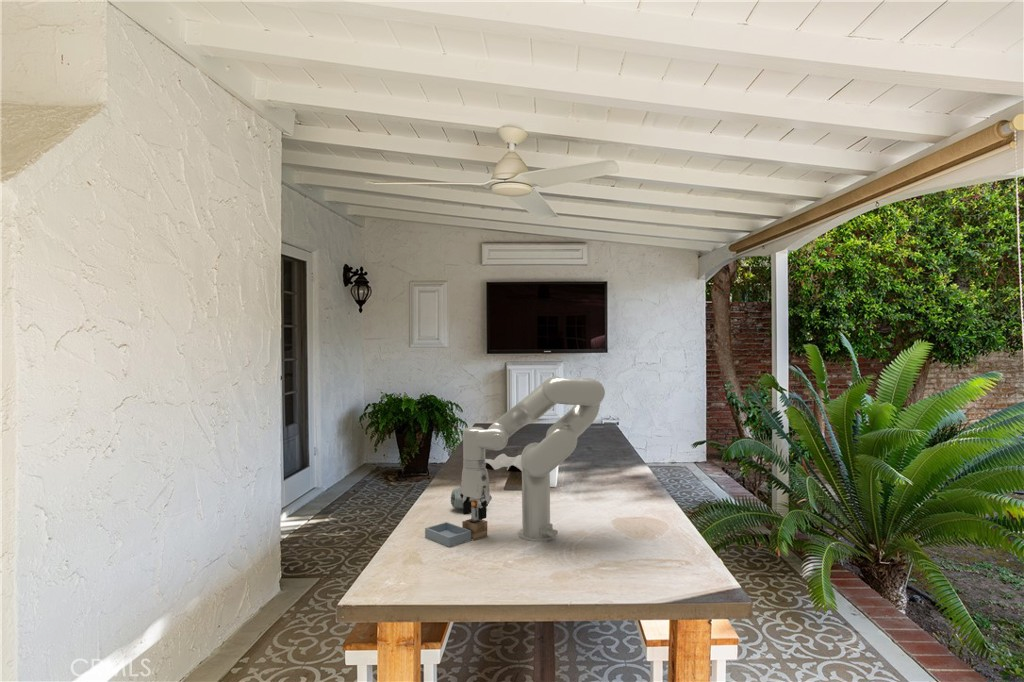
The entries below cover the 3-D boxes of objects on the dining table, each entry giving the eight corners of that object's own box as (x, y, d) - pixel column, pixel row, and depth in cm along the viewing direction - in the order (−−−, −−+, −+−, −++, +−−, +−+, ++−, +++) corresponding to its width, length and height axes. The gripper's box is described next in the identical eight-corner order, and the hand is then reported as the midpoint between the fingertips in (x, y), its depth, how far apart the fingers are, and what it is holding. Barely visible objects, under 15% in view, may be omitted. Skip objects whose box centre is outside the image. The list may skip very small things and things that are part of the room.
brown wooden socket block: (487, 535, 191) (487, 521, 191) (473, 540, 187) (473, 525, 187) (475, 531, 195) (475, 517, 195) (462, 536, 191) (462, 521, 191)
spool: (444, 507, 216) (453, 483, 215) (450, 500, 225) (459, 477, 225) (477, 521, 214) (486, 497, 214) (481, 514, 224) (490, 491, 223)
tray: (471, 540, 187) (471, 530, 187) (449, 547, 181) (449, 537, 181) (446, 530, 197) (446, 521, 197) (425, 537, 190) (425, 528, 190)
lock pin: (479, 530, 191) (479, 500, 191) (474, 531, 189) (474, 502, 189) (475, 528, 193) (475, 499, 193) (469, 530, 191) (469, 500, 191)
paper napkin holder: (476, 474, 281) (476, 455, 281) (491, 466, 299) (491, 448, 299) (524, 478, 272) (524, 458, 272) (536, 470, 290) (536, 451, 290)
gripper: (499, 466, 187) (500, 519, 187) (466, 458, 200) (466, 508, 200) (483, 469, 182) (483, 524, 182) (449, 461, 195) (450, 513, 195)
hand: (474, 515), depth 191 cm, fingers open, 7 cm apart
